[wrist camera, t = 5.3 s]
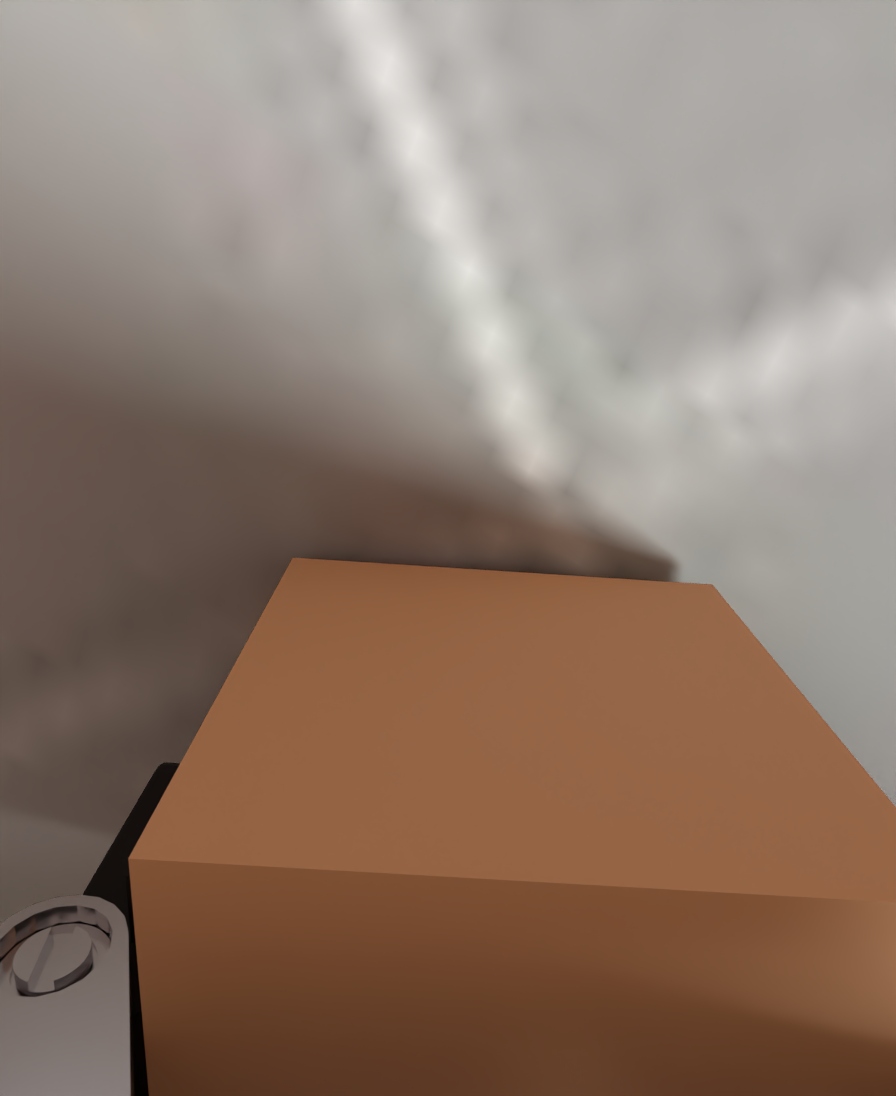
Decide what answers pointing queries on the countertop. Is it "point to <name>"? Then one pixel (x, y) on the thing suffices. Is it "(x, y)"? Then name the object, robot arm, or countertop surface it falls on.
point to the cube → (514, 854)
